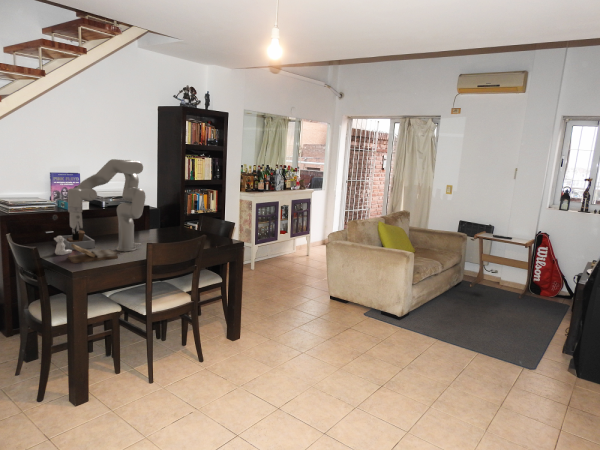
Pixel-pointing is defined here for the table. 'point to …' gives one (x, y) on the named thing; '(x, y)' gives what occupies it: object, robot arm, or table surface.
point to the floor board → (98, 256)
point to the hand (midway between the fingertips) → (75, 239)
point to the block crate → (85, 243)
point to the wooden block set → (81, 235)
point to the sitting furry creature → (61, 246)
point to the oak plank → (83, 250)
